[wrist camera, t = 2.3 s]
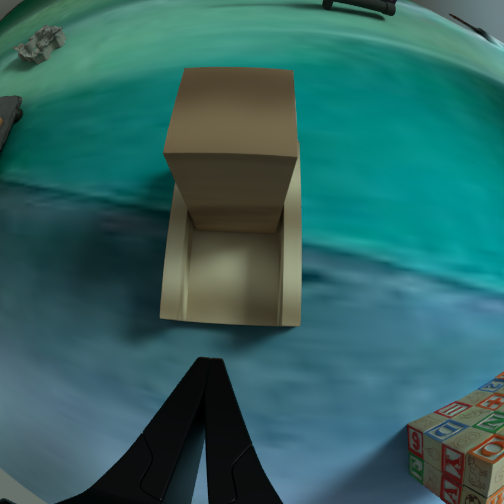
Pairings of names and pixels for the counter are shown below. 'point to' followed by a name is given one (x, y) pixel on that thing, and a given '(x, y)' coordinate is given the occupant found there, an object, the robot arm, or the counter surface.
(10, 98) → the serving board
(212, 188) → the walnut block
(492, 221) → the counter surface
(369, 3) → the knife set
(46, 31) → the bumpy grey rock
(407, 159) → the counter surface
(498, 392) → the stack of blocks
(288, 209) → the chute
